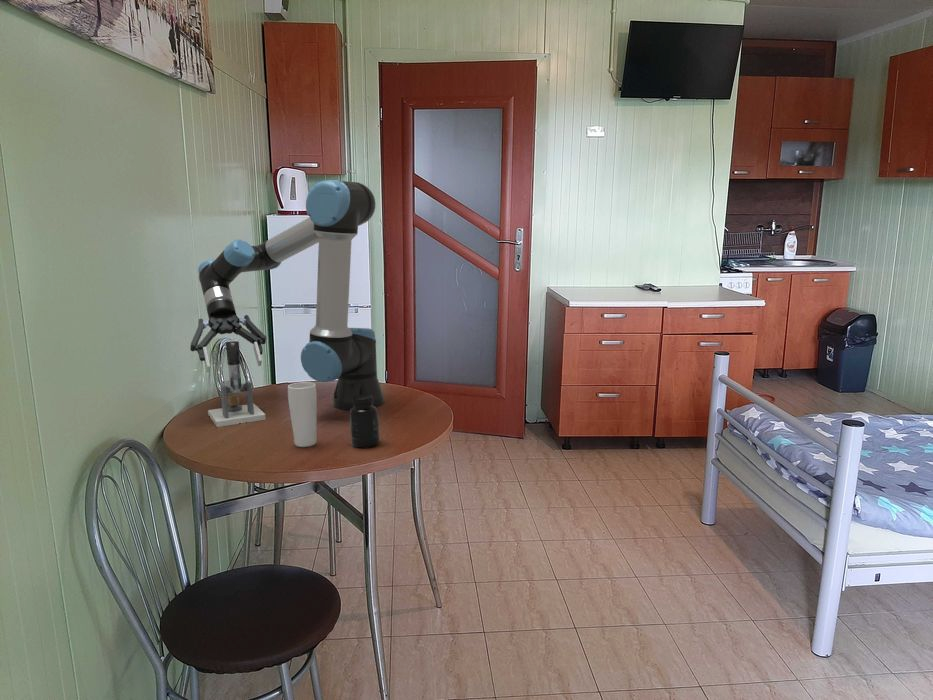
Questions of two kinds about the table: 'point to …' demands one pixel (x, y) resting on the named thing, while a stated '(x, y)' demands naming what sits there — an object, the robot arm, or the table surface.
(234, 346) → the lever
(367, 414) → the supplement bottle
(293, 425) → the drinking glass
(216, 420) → the nutcracker base
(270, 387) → the table surface
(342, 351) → the robot arm
